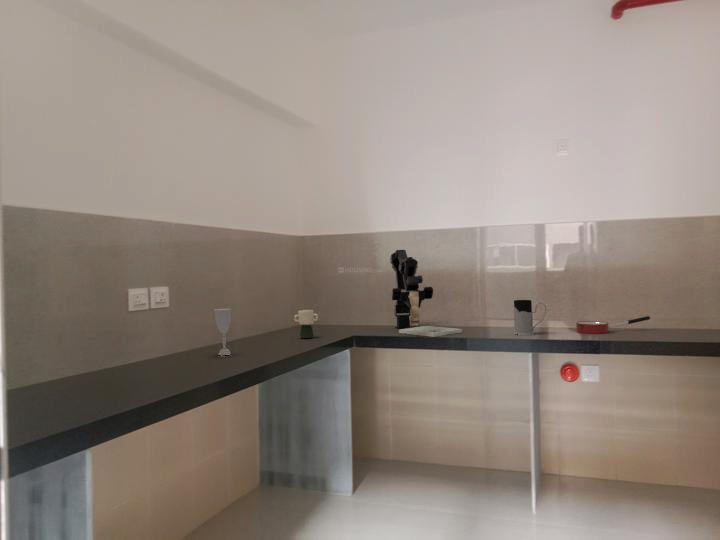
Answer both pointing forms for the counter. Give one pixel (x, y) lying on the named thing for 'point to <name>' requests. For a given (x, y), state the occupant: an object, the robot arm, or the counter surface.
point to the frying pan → (602, 326)
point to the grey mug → (524, 317)
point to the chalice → (223, 326)
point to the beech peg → (414, 308)
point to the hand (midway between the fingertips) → (415, 307)
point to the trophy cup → (306, 322)
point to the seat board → (430, 331)
